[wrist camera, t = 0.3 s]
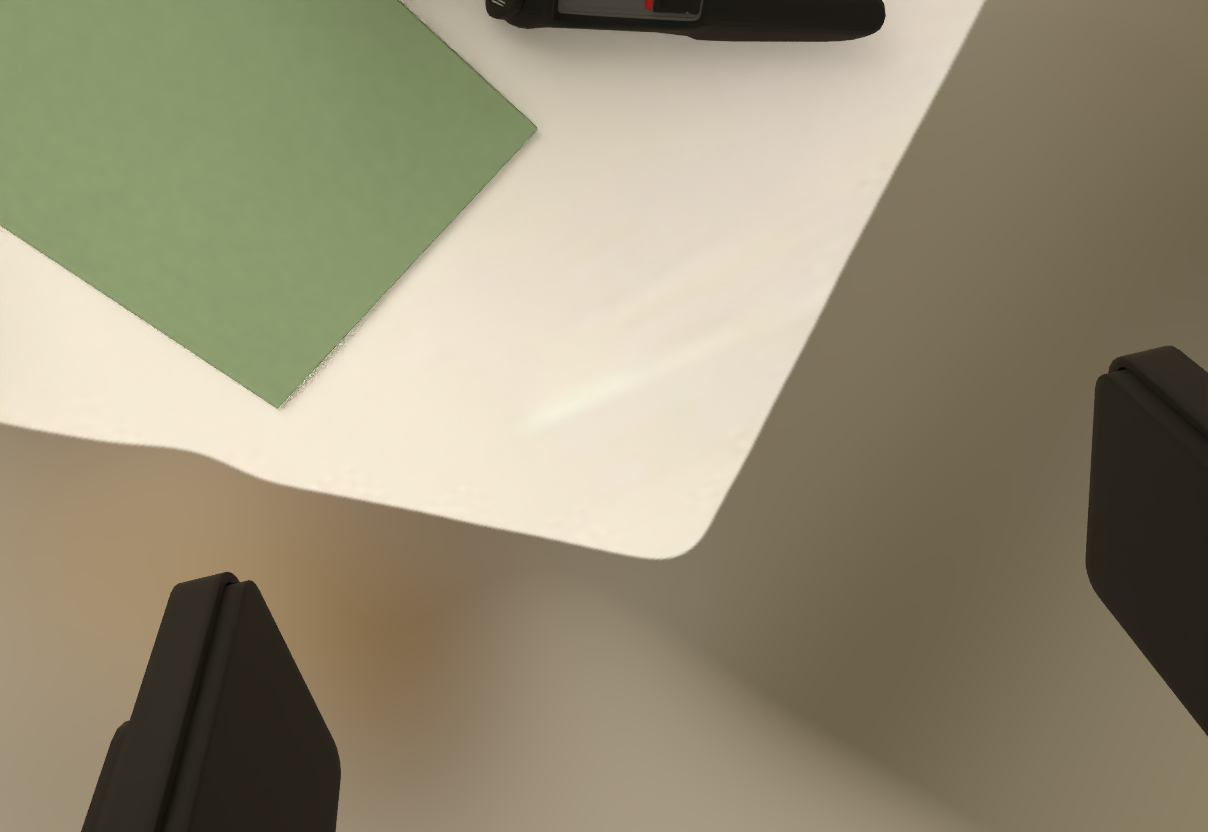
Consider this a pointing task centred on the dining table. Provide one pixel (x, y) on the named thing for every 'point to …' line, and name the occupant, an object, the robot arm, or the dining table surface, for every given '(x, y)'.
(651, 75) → the dining table surface
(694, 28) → the electric trimmer
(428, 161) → the mat
